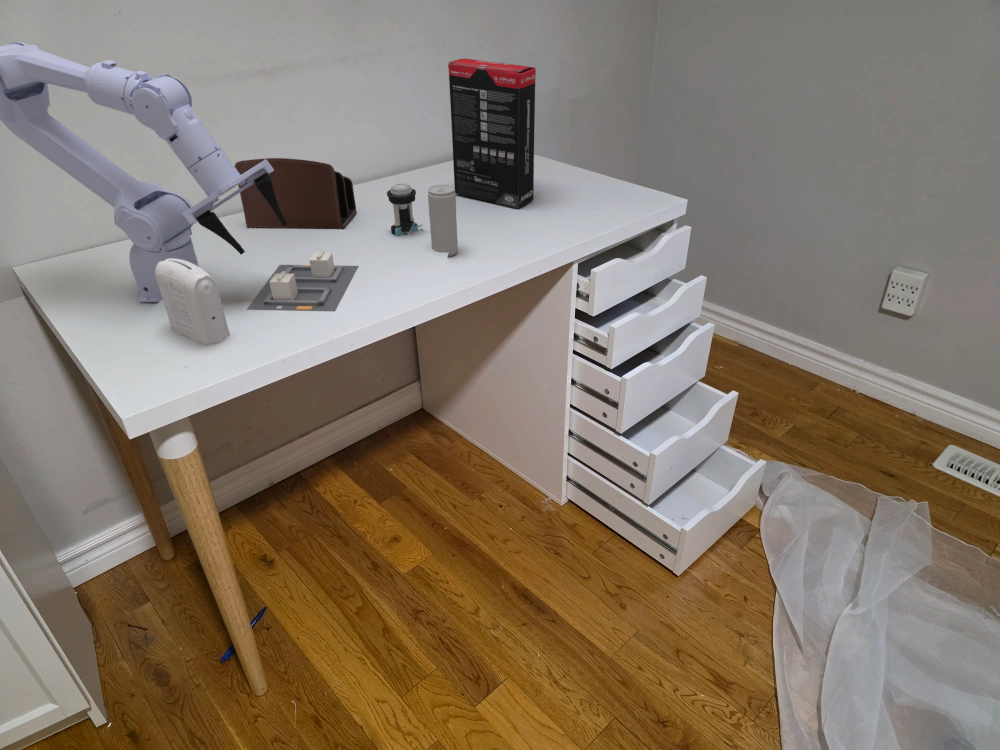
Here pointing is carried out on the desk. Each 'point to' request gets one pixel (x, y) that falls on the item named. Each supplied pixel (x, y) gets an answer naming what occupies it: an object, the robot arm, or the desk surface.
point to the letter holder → (299, 196)
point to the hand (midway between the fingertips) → (264, 238)
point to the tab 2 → (322, 265)
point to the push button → (402, 209)
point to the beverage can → (443, 219)
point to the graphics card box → (493, 130)
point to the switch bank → (307, 290)
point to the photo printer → (192, 301)
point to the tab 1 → (283, 286)
